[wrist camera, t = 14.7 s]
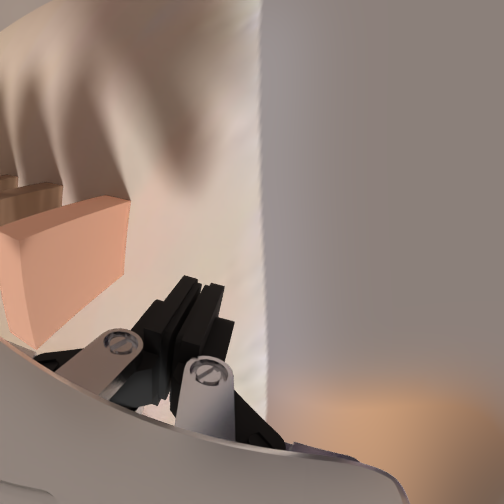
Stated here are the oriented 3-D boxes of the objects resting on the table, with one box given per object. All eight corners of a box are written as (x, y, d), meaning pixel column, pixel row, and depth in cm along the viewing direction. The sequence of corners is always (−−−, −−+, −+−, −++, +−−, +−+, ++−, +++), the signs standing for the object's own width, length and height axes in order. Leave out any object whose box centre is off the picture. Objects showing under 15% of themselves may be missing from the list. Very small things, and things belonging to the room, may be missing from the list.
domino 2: (130, 200, 16) (19, 240, 7) (123, 274, 17) (36, 349, 8) (105, 195, 16) (-7, 228, 7) (100, 266, 17) (10, 331, 9)
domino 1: (63, 185, 16) (-40, 211, 7) (60, 251, 17) (-27, 301, 9) (46, 182, 16) (-52, 205, 7) (44, 245, 17) (-41, 289, 9)
